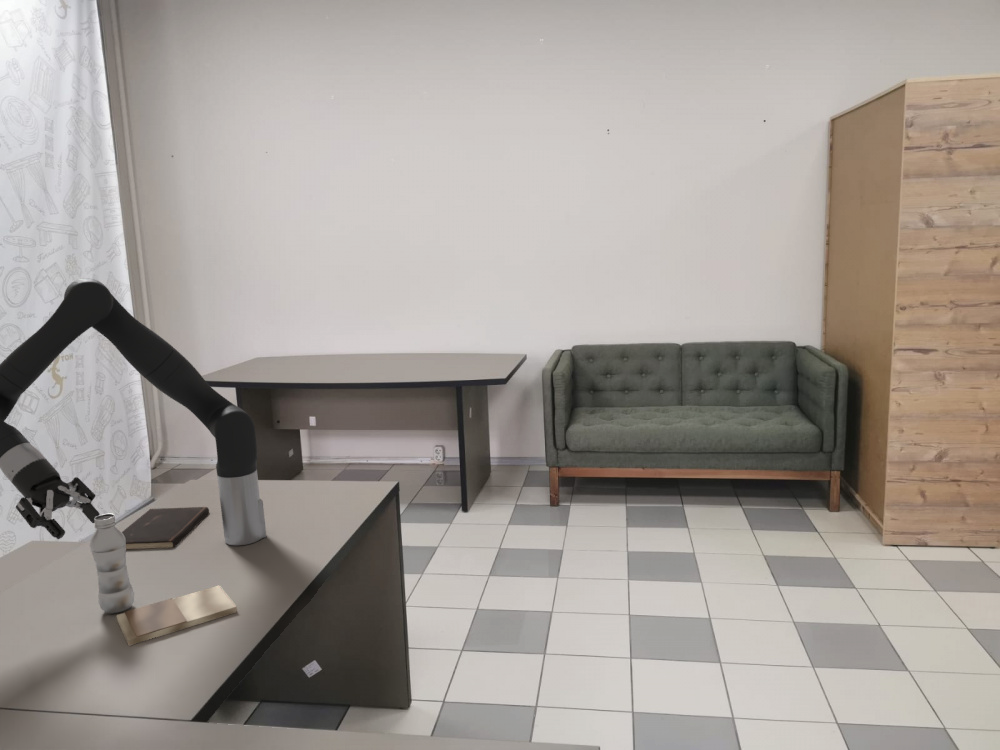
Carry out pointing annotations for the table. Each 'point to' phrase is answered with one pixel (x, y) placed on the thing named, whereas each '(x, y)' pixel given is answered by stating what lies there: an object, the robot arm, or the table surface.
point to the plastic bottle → (111, 565)
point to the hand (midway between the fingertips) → (80, 528)
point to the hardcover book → (163, 527)
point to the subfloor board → (175, 614)
